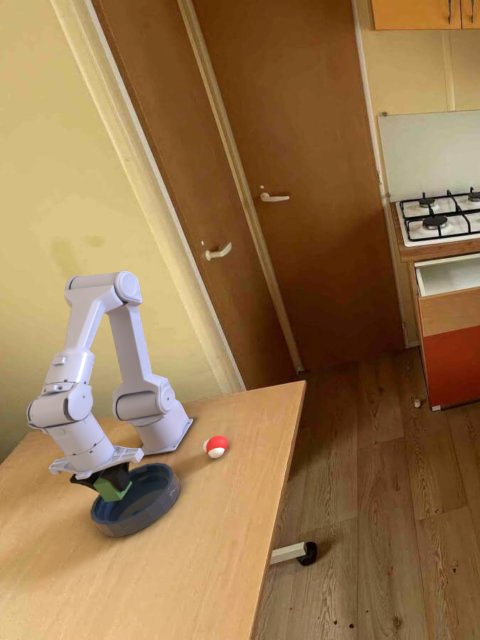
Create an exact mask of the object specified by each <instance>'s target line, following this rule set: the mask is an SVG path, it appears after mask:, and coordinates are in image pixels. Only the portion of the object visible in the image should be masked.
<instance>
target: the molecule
mask: <svg viewBox="0 0 480 640" xmlns="http://www.w3.org/2000/svg"><path fill="white" fill-rule="evenodd" d="M228 442H229V441H228V439H227V438H226V437H225V436H223V435H215V436H212V437H211V438H208V439H206V440H205V441H204V443H203V444H202V450H203V451H204V452H205V453H207V454H208V456H209V457H210V458H212V459H218V458H220V457H221V456H222V455H223V454H224V453H225V451H226V449H227V447H228V445H229V443H228Z"/></svg>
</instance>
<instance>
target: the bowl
mask: <svg viewBox="0 0 480 640" xmlns="http://www.w3.org/2000/svg"><path fill="white" fill-rule="evenodd" d="M129 477H130V481H131V482H132V484H131V486H130V487H129V489H128V490H127V492H126V493H125V495H124V496H123V498H122V499H121V500H117V501H110V502H105V501H104V499H103V498H102V496H101V495H100V494H99V493H98V495H97V497H96V498H95V499H94V500H93V502H92V505H91V508H90V511H89V513H90V518H91V521H92V522H93V523H94V524H95V526H96V527H97V529H99V531H100V532H101V533H102V534H103V535H105V536H108V537H112V538H118V537H123V536H125V537H126V536H128V535H131V534H134V533H136V532H139V531H141V530H143V529H144V528H146V527H148V526H150V525H152V524H153V523H154V522H156V521H157V520H158V519H160V518H161V517H162V516H164V514H165V513H167V511H169V509H170V508H171V507H172V506H173V504H174V503H175V501H176V499H177V498H178V496H179V494H180V489H181V484H180V480H179V478H178V476H177V475H176V473H175V471H174V470H173V468H172V467H171V466H170V465H169V464H167V463H165V462H164V463H163V462H152V463H151V462H150V463H146V464H141V465H139V466H137V467H134V468H131V469H129Z"/></svg>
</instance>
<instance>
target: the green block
mask: <svg viewBox="0 0 480 640" xmlns="http://www.w3.org/2000/svg"><path fill="white" fill-rule="evenodd" d="M103 472H104V471H103ZM103 472H102V473H103ZM100 476H101V475H100ZM100 476H99V478H98V479H97V480H96V482H95V483H94V484H93V486H94V487H95V488H96V490H97V491H98V492H99V493H98V492H97V491H96V492H97V493H98V495H99V494H100V495H101V496H102V498H103V499H104V501H105V502H110V501H117V500H121V499H122V498H123V496H124V495H125V493H126V492H127V490H128V489H129V487H130V486H131V484H132V482H131V481H130V484H129V485H128V487H127V488H126V490H125V491H119V490H118V489H117V488H116V487H115V486H114V485H113V484H112V483H111V482H109V481H108V480H105V479H102V478H100Z"/></svg>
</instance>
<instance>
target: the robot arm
mask: <svg viewBox="0 0 480 640" xmlns="http://www.w3.org/2000/svg"><path fill="white" fill-rule="evenodd" d="M63 297H64V300H65V302H66V303H67V305H68V307H70V309H69V310H70V311H69V315H68V316H69V317H68V322H67V328H66V333H65V339H64V345H63V349H62V350H60V351H58V352H56V353H55V354H53V355H52V358H51V360H50V364H49V367H48V371H47V373H46V377H45V379H44V383H43V385H42V390H41V392H40V394H39V395H38V396H37V397H36V398H34V399H33V400H31V402H29V404H28V406H27V409H26V418H27V426H28V427H30V428H31V429H33V430H40V431H41V432H42V434H44V435H48V436H50V437H51V438H52V439H53V441H54V442H55V444H56V445H57V446H58V447H59V449H60V450H61V452H62V453H63V454H64V456H65V457H62V458H57V459H55V460H54V461H53V462H52V463H51V464H50V465H49V467H47V469H48V471H49V472H50V473H51V475H52V476H56V475H59V474H61V473H62V472H64V473H69V474H72V475H71V477H70V478H69V482H70V483H71V484H75V485H80V486H84V487H86V488H88V489H91V490H93V491H94V492H97V494H99V492H98V491H97V490H96V488H95V487H94V486H93V484H94V483H95V482H96V480H97V479H98V478H99V476H100V475H101V476H100V478H102V479H105V480H108V481H109V482H111V483H112V484H113V485H114V486H115V487H116V488H117V489H118V490H119V491H125V490H126V488H127V487H128V485H129V484H130V477H129V471H130V463H132V464H133V465H134V464H139V463H140V461H142V459H143V457H144V456H149V455H157V454H162V453H163V454H164V453H170V452H175V451H176V449H177V448H178V446H179V444H180V443H181V441H182V440H183V439H184V437H185V435H186V434H187V432H188V430H189V429H190V427H191V425H192V424H193V422H194V419H193V418H189V417H188V414H187V413H186V410H185V409H184V406H183V405H182V403H181V402H180V401H179V400H178V399H176V394H175V391H174V390H173V388H172V386H171V383H170V381H169V379H168V377H166V376H162V375H160V374H159V375H158V374H155V373H153V369H152V366H151V360H150V356H149V351H148V345H147V340H146V336H145V332H144V331H145V330H144V326H143V322H142V317H141V311H140V308H139V305H141V304H143V296H142V291H141V287H140V281H139V278H138V277H137V276H136V275H134V274H133V273H132V272H130V271H128V270H121V271H115V272H106V273H105V272H104V273H96V274H87V275H73V276H71V277H70V278H69V279H68V280H67V282H66V284H65V286H64V294H63ZM104 314H106V315H107V316H108V321H109V325H110V330H111V335H112V340H113V343H114V348H115V352H116V358H117V363H118V366H119V371H120V375H121V381H122V383H121V384H120V385H118V386H117V387H116V388H115V389H114V390H113V392H112V393H111V396H112V405H111V413H112V416H113V417H114V418H115V420H116V421H117V422H125V423H126V424H127V425H131V426H132V427H133V429H134V430H135V432H136V434H137V435H138V437H139V439H140V440H141V442H142V444H143V445H142V446H141V447H137V448H132V447H127V446H121V445H116V444H112V442H111V440H110V439H109V438H108V436H107V435H106V433H105V431H104V430H103V429H102V427H101V425H100V424H99V422H98V420H97V419H96V418H95V416H94V415H93V413H92V407H93V405H94V398H93V394H92V390H93V389H92V385H89V384H90V380H91V376H92V373H93V370H94V369H93V368H94V365H95V362H96V361H95V360H96V356H95V353H93V352H92V350H91V347H92V344H93V342H94V340H95V336H96V334H97V332H98V330H99V329H98V328H99V327H100V323H101V321H102V319H103V316H104ZM103 471H104V472H103ZM102 472H103V473H102Z"/></svg>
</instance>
